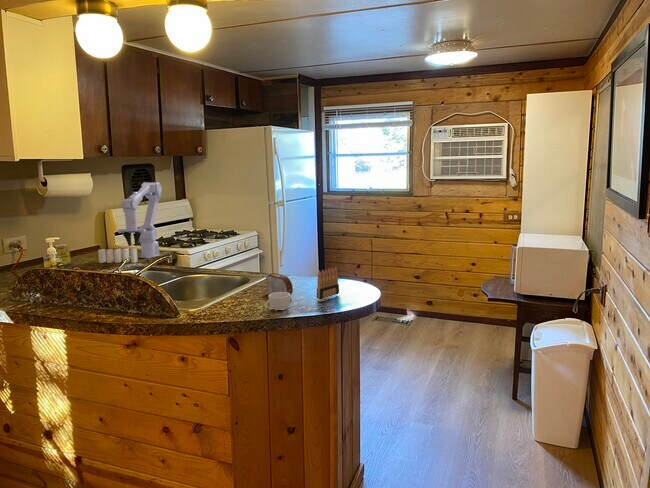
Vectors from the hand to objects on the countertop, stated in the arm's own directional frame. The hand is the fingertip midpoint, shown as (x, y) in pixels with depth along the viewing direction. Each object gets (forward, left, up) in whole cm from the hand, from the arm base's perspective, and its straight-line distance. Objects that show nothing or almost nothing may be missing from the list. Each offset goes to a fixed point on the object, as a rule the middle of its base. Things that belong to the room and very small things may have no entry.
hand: (133, 245), depth 269 cm
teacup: (+34, +127, -9) cm, 131 cm away
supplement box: (+25, -27, -9) cm, 38 cm away
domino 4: (+2, -4, -9) cm, 10 cm away
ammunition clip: (+13, +135, -9) cm, 135 cm away
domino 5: (0, 0, -9) cm, 9 cm away
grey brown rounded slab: (+18, +115, -9) cm, 116 cm away
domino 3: (+5, -8, -9) cm, 13 cm away
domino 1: (+9, -16, -9) cm, 20 cm away
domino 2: (+7, -12, -9) cm, 16 cm away
